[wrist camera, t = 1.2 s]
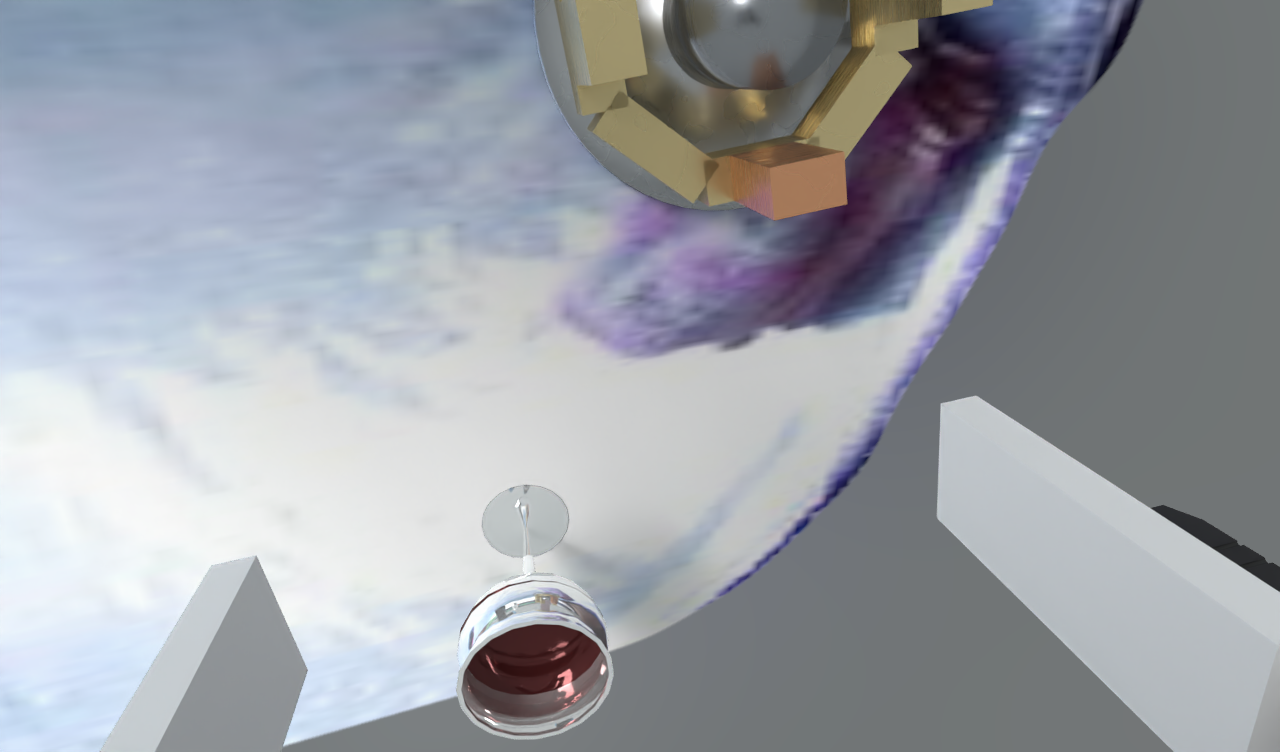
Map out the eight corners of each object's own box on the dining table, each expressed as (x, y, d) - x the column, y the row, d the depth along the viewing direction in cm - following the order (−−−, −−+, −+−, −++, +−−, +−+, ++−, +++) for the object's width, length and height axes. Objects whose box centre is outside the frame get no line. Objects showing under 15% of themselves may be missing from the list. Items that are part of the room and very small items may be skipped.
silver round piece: (488, -176, 28) (486, -252, 22) (883, -239, 30) (988, -327, 23) (578, 237, 35) (596, 272, 29) (895, 167, 37) (978, 185, 30)
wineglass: (607, 506, 41) (646, 657, 31) (538, 587, 43) (553, 759, 32) (511, 450, 39) (517, 593, 28) (442, 538, 40) (422, 707, 29)
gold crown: (520, -165, 27) (528, -245, 20) (884, -225, 28) (1001, -316, 22) (599, 220, 33) (624, 254, 27) (895, 155, 35) (988, 172, 28)
